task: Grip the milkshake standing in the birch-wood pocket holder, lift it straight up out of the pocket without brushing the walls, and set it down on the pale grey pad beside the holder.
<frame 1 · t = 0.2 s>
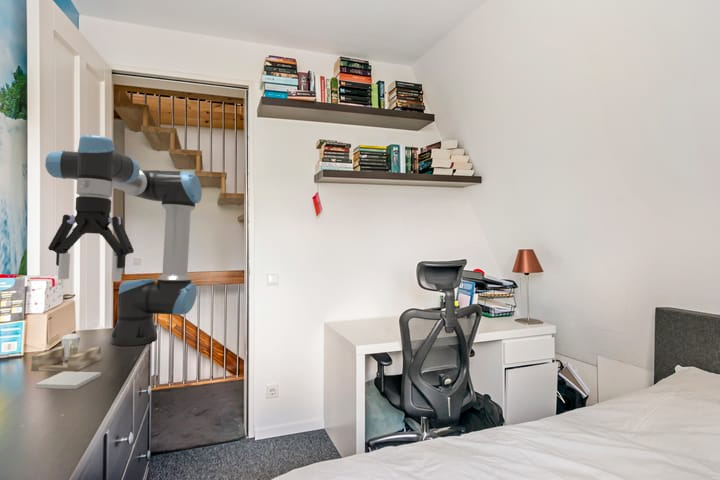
hand: (90, 280, 101), 28 cm above the dresser, fingers open, 13 cm apart
pad: (69, 381, 105), on the dresser
pocket holder: (67, 364, 118), on the dresser
milkshake: (67, 365, 118), on the dresser
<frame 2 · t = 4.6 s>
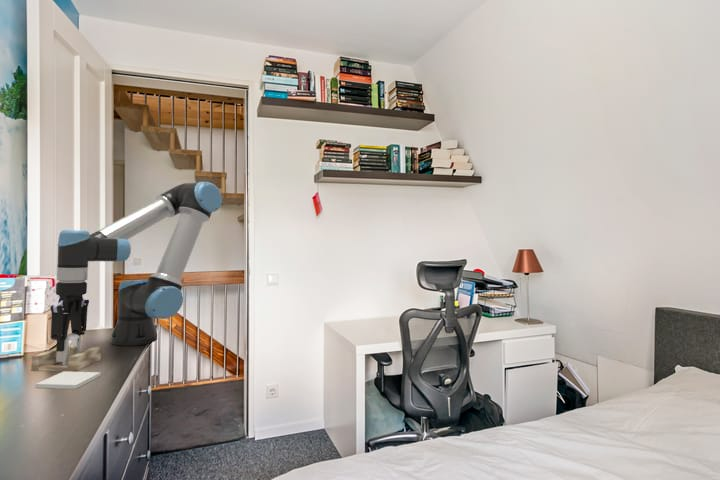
hand: (68, 359, 118), 2 cm above the dresser, fingers closed on milkshake, 4 cm apart
milkshake: (67, 365, 118), on the dresser, touching gripper
when the fingers open (4 cm above the dresser, at t = 12.9 s): milkshake drops 1 cm, resting on pad.
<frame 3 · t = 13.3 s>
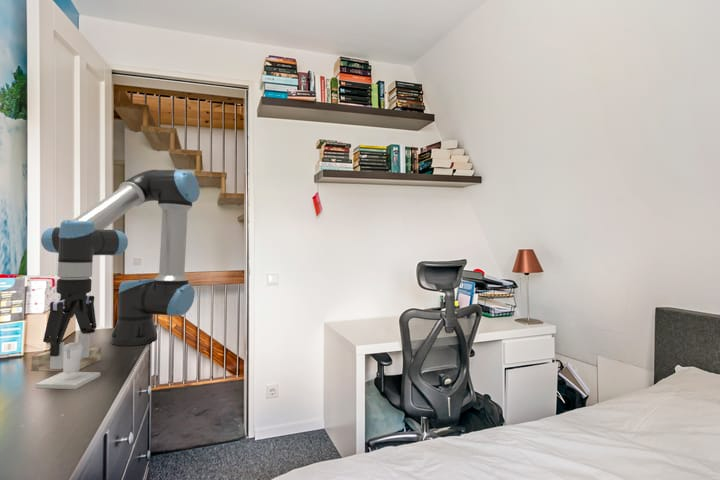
hand: (70, 362, 105), 5 cm above the dresser, fingers open, 9 cm apart
milkshake: (69, 378, 105), point 1 cm above the dresser, touching pad
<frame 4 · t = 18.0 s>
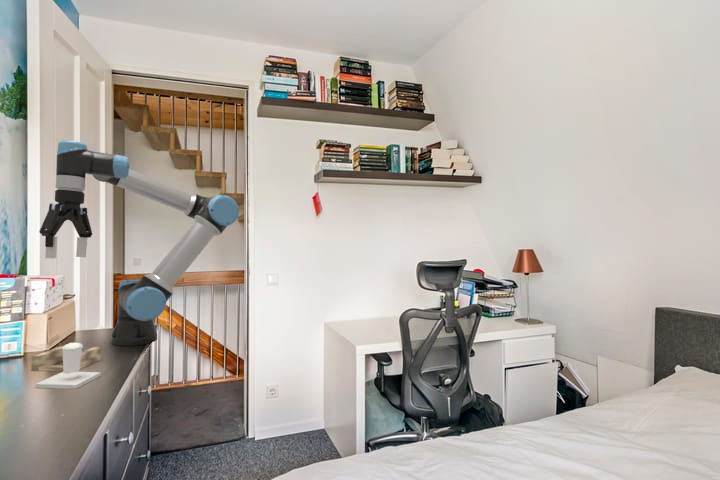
hand: (66, 257, 125), 32 cm above the dresser, fingers open, 13 cm apart
nothing on the dresser moved.
at the end: milkshake 0.1 cm off-centre on the pad, point 0.8 cm above the pad's base; milkshake tilted 0° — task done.
